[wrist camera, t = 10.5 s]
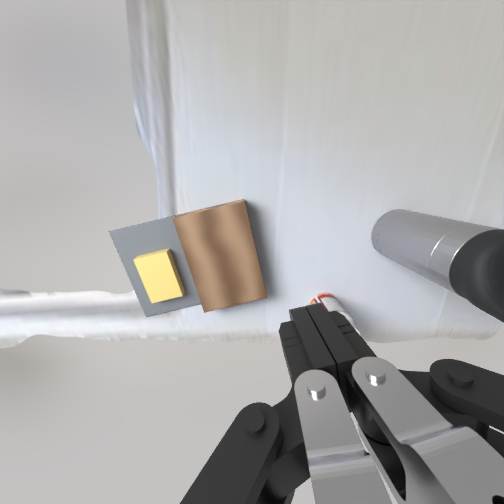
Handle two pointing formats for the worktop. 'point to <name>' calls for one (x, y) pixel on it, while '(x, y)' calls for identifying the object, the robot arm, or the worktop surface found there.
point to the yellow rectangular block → (159, 275)
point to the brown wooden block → (221, 255)
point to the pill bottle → (332, 306)
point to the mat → (148, 241)
